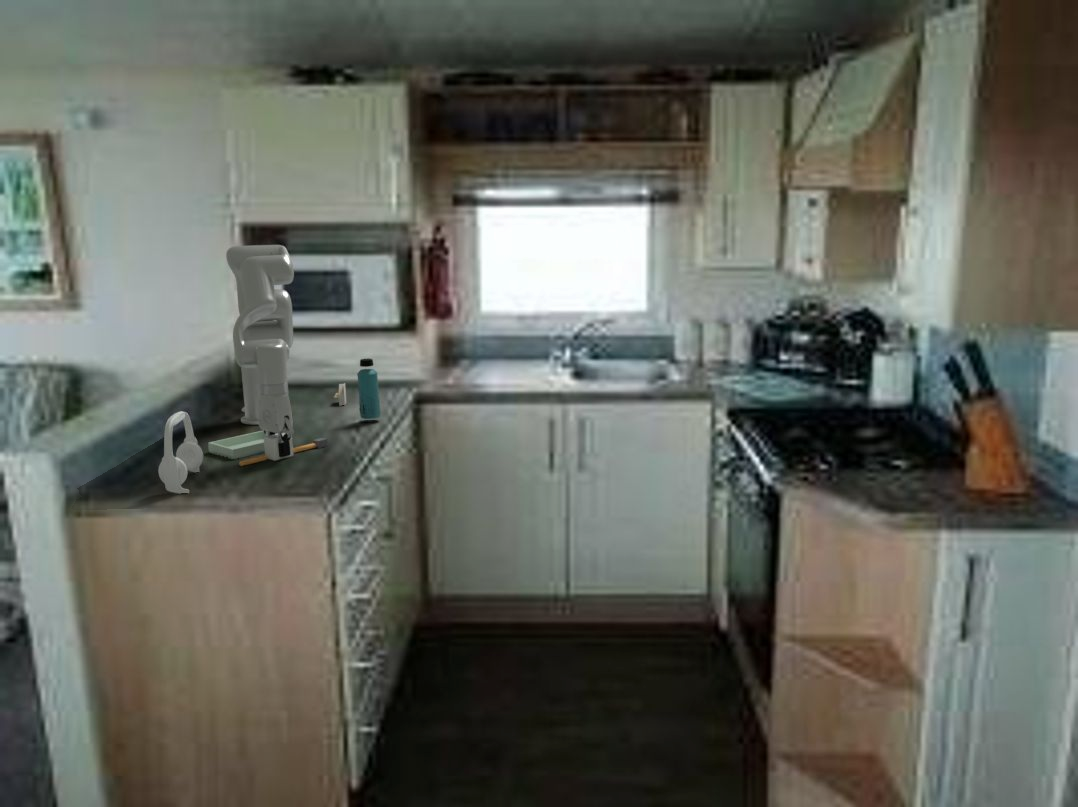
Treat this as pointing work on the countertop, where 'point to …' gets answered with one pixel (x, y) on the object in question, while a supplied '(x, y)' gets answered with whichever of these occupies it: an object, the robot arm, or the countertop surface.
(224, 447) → the tray
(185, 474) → the headset
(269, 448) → the pale grey cuboid
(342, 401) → the architectural model
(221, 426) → the countertop surface
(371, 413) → the beverage bottle
